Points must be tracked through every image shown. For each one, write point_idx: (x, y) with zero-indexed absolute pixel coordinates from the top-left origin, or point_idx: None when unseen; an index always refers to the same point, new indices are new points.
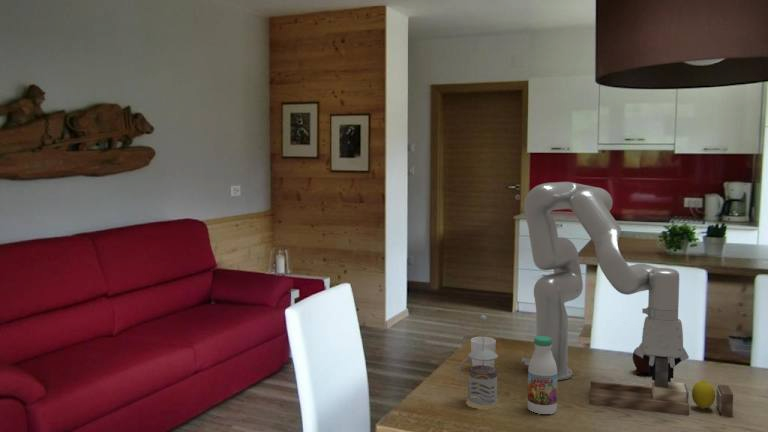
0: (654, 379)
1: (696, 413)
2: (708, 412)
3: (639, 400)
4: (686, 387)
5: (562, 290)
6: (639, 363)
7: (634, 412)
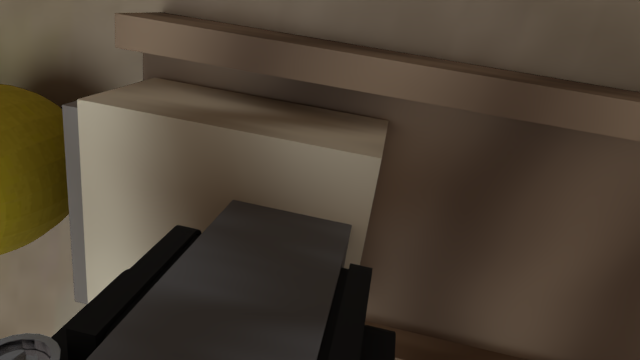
0: (347, 270)
1: (111, 57)
2: (40, 87)
3: (532, 83)
4: (73, 233)
5: None
6: None
7: (577, 3)
